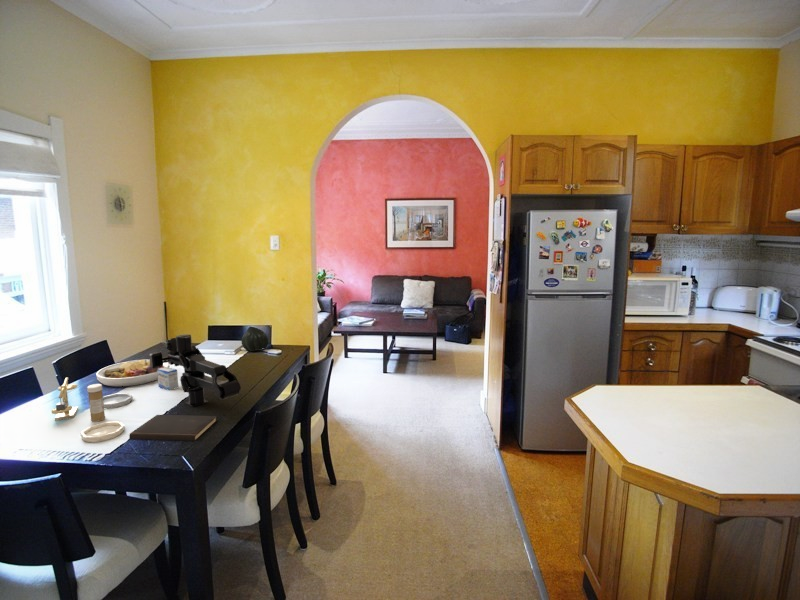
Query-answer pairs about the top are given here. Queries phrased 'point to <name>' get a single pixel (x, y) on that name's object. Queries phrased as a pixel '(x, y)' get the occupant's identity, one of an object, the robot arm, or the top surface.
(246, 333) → the squash
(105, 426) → the cream dish
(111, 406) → the slate dish
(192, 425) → the hardcover book
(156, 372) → the bowl
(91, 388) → the sprinkles bottle
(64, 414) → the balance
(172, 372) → the medicine box
